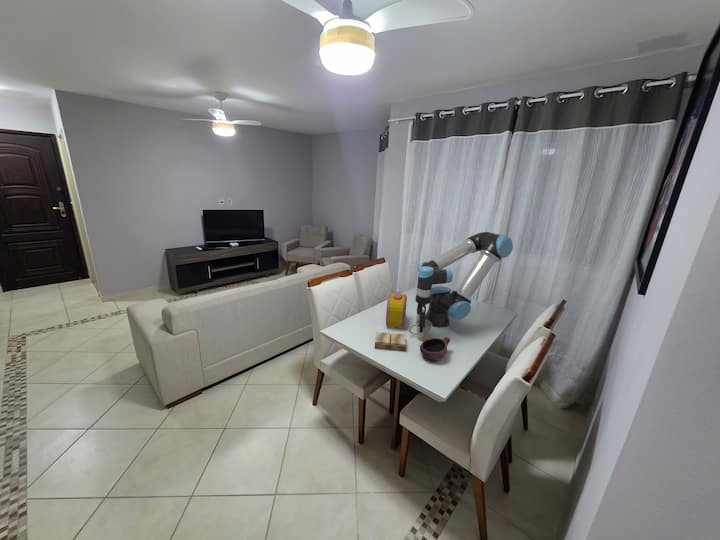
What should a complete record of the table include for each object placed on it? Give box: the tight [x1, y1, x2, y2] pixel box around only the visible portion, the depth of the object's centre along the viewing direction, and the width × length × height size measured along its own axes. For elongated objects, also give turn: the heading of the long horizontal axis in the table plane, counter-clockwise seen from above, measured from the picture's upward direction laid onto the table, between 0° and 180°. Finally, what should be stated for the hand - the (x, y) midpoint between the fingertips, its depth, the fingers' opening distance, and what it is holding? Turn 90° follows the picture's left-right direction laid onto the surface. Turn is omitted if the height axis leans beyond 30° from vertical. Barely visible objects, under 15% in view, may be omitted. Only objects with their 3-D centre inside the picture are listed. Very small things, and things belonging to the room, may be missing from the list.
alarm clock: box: [385, 291, 408, 329], centre depth 165 cm, size 18×11×19 cm, turn 168°
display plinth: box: [374, 331, 407, 353], centre depth 144 cm, size 16×11×4 cm
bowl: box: [419, 336, 451, 361], centre depth 136 cm, size 16×13×8 cm
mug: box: [407, 320, 433, 342], centre depth 150 cm, size 8×13×10 cm, turn 78°
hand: (418, 330), depth 150 cm, fingers open, 13 cm apart
